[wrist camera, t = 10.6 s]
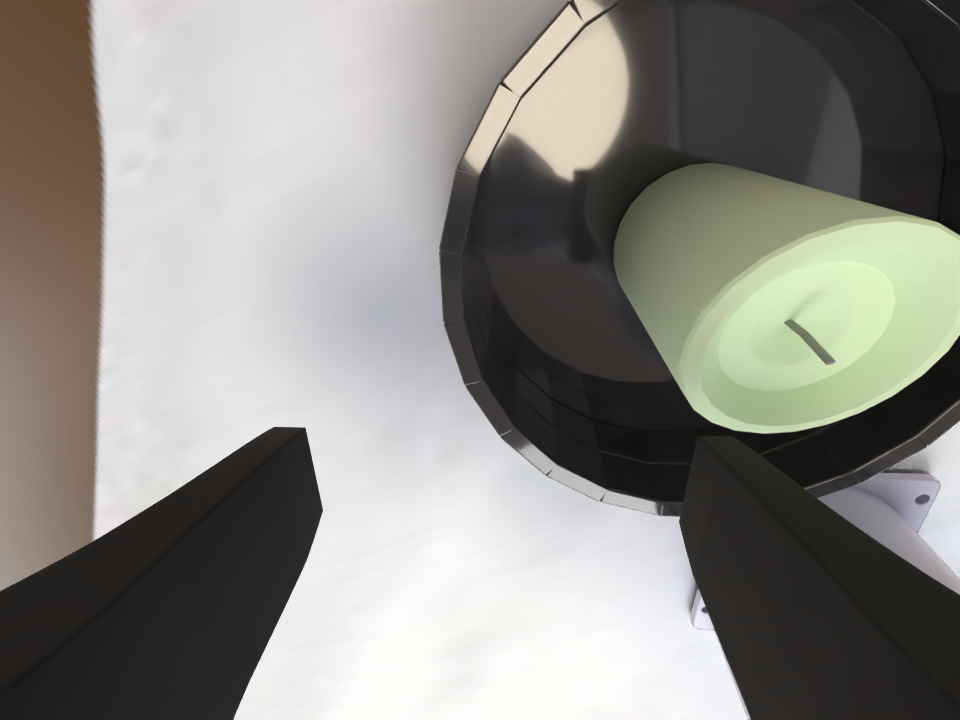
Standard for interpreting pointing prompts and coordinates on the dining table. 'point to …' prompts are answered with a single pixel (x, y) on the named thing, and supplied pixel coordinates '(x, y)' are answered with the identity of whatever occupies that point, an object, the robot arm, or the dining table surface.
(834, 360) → the candle
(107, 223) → the dining table surface
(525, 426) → the pan
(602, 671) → the dining table surface
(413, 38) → the dining table surface
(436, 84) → the dining table surface
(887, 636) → the robot arm
